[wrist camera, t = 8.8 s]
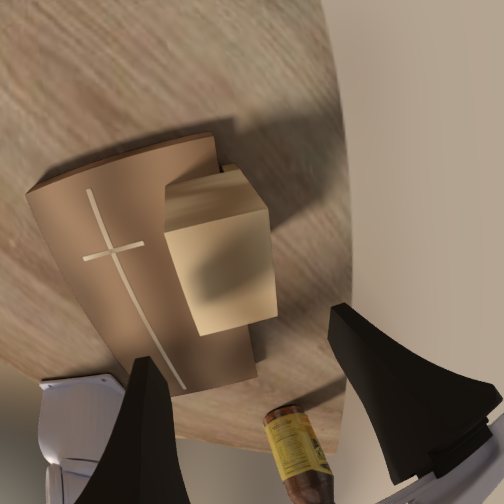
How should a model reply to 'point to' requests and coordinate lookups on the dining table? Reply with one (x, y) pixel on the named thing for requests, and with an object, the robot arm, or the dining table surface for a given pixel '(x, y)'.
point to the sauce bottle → (299, 456)
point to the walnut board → (137, 262)
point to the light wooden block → (221, 249)
